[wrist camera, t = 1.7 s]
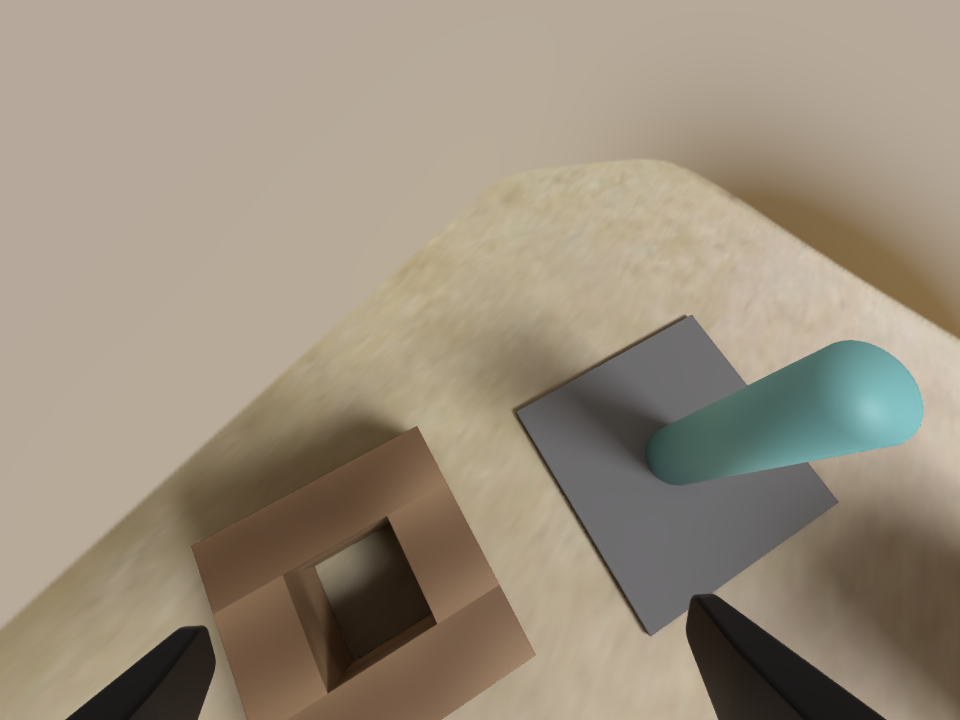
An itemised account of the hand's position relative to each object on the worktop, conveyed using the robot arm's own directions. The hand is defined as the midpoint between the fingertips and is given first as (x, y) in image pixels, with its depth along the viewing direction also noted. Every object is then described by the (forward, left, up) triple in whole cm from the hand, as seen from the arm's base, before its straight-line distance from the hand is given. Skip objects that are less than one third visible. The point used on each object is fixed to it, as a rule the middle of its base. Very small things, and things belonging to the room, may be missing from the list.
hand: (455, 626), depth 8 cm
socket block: (+1, +4, -14) cm, 15 cm away
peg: (-1, -12, -14) cm, 18 cm away
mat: (-1, -12, -14) cm, 19 cm away
